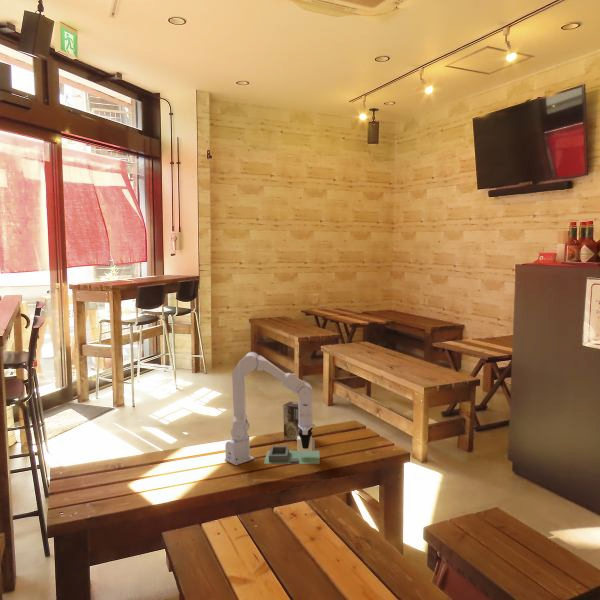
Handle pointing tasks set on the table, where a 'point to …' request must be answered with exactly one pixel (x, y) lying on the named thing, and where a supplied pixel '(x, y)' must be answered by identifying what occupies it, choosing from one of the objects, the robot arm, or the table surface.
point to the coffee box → (291, 420)
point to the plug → (300, 448)
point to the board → (291, 456)
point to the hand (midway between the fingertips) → (305, 446)
